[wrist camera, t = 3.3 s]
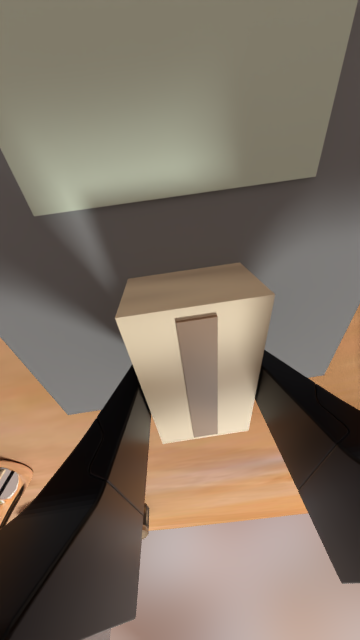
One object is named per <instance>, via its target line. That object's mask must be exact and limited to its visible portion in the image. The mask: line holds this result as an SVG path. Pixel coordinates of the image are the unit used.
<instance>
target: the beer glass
mask: <svg viewBox="0 0 360 640" xmlns="http://www.w3.org/2000/svg"><path fill="white" fill-rule="evenodd" d="M32 477H33V472H32V470H31V469H30V468H29V467H27V466H25V465H23V464H20V463H17V462H13V461H8V460H2V459H0V529H1V528H3V527H4V526H5V525H6V524H7V522H8V520H9V518H10V516H11V514H12V512H13V510H14V508H15V506H16V505H17V503H18V501H19V500H20V498H21V496H22V495H23V493H24V491H25V490H26V488H27V486H28V485H29V483H30V481H31V479H32Z"/></svg>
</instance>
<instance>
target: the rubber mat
mask: <svg viewBox="0 0 360 640" xmlns="http://www.w3.org/2000/svg"><path fill="white" fill-rule="evenodd" d="M239 262H240V263H241V264H242V265H243V266H244V267H245V268H247V269H248V270H249V271H250V272H251V273H252V274H253V275H254V276H255V277H257V278H258V279H259V280H260V281H261V282H262V283H263V284H264V285H265V286H266V287H268V288H269V289H270V290H271V291H272V292H273V293H274V294H275V298H274V303H273V308H272V313H271V318H270V323H269V328H268V333H267V339H266V344H265V350H266V351H268V352H269V353H271V354H272V355H274V356H275V357H277V358H278V359H280V360H281V361H283V362H284V363H286V364H287V365H289V366H290V367H292V368H293V369H295V370H296V371H298V372H299V373H301V374H302V375H304V376H305V377H307V378H309V377H315V376H322V375H324V374H325V372H326V370H327V368H328V366H329V364H330V362H331V360H332V358H333V356H334V354H335V352H336V350H337V348H338V346H339V344H340V342H341V340H342V338H343V336H344V334H345V332H346V330H347V328H348V326H349V324H350V322H351V320H352V318H353V316H354V314H355V312H356V310H357V308H358V306H359V304H360V0H0V337H1V338H2V340H3V341H4V342H5V343H6V344H7V345H8V346H9V348H10V349H11V350H12V351H13V352H14V353H15V355H16V356H17V357H18V358H19V359H20V360H21V361H22V363H23V364H24V365H25V366H26V367H27V368H28V369H29V371H30V372H31V373H32V374H33V375H34V376H35V377H36V379H37V380H38V381H39V382H40V383H41V384H42V386H43V387H44V388H45V389H46V390H47V391H48V392H49V394H50V395H51V396H52V397H53V398H54V399H55V400H56V402H57V403H58V404H59V405H60V406H61V407H62V409H63V410H64V411H65V412H66V413H67V414H68V415H71V414H77V413H84V412H90V411H97V410H102V409H103V407H104V406H105V404H106V403H107V401H108V400H109V398H110V397H111V395H112V394H113V392H114V391H115V389H116V388H117V386H118V385H119V383H120V382H121V380H122V379H123V377H124V376H125V374H126V373H127V371H128V370H129V368H130V367H131V365H132V362H131V359H130V356H129V354H128V351H127V349H126V346H125V343H124V341H123V338H122V336H121V333H120V330H119V328H118V325H117V322H116V320H115V316H116V313H117V310H118V307H119V304H120V301H121V298H122V295H123V292H124V289H125V286H126V283H127V280H128V279H130V278H136V277H143V276H150V275H157V274H164V273H171V272H177V271H184V270H191V269H198V268H205V267H212V266H218V265H225V264H232V263H239Z"/></svg>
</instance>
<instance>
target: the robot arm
mask: <svg viewBox="0 0 360 640" xmlns="http://www.w3.org/2000/svg"><path fill="white" fill-rule="evenodd" d="M255 400H256V402H257V404H258V406H259V408H260V411H261V413H262V415H263V417H264V419H265V421H266V423H267V426H268V428H269V430H270V432H271V434H272V436H273V438H274V440H275V443H276V445H277V447H278V449H279V451H280V453H281V455H282V457H283V460H284V462H285V464H286V466H287V468H288V470H289V472H290V474H291V477H292V479H293V481H294V483H295V485H296V487H297V489H298V490H299V491H298V492H299V494H300V496H301V498H302V500H303V502H304V505H305V507H306V509H307V511H308V513H309V515H310V517H311V519H312V521H313V524H314V526H315V528H316V530H317V532H318V534H319V536H320V539H321V540H322V543H323V545H324V547H325V549H326V551H327V554H328V556H329V558H330V560H331V562H332V564H333V566H334V568H335V571H336V573H337V575H338V576H339V579H340V581H341V582H342V583H343V584H347V583H360V410H358V409H356V408H354V407H353V406H351V405H349V404H348V403H346V402H344V401H342V400H341V399H339V398H338V397H336V396H334V395H333V394H331V393H330V392H328V391H327V390H325V389H324V388H322V387H321V386H319V385H318V384H315V383H314V382H313V381H311V380H310V379H308V378H307V377H305V376H304V375H302V374H301V373H299V372H298V371H296V370H295V369H293V368H292V367H290V366H289V365H287V364H286V363H284V362H283V361H281V360H280V359H278V358H277V357H275V356H274V355H272V354H271V353H269V352H268V351H266V350H265V349H264V354H263V359H262V364H261V369H260V374H259V379H258V384H257V389H256V394H255ZM150 423H151V411H150V409H149V406H148V404H147V401H146V398H145V396H144V393H143V390H142V388H141V385H140V383H139V380H138V377H137V375H136V372H135V370H134V367H133V364H132V365H131V367H130V368H129V370H128V371H127V373H126V374H125V376H124V377H123V379H122V380H121V382H120V383H119V385H118V386H117V388H116V389H115V391H114V392H113V394H112V395H111V397H110V398H109V400H108V401H107V403H106V404H105V406H104V407H103V409H102V410H101V412H100V413H99V415H98V416H97V419H95V421H94V422H93V424H92V425H91V427H90V428H89V430H88V431H87V432H86V434H85V435H84V437H83V438H82V440H81V441H80V442H79V444H78V445H77V446H76V447H75V449H74V450H73V451H72V453H71V454H70V455H69V457H68V458H67V459H66V460H65V462H64V463H63V464H62V465H61V467H60V468H59V469H58V470H57V472H56V473H55V474H54V476H53V477H52V478H51V479H50V481H49V482H48V483H47V484H46V486H45V487H44V488H43V489H42V491H41V492H40V493H39V494H38V496H37V497H36V498H35V499H34V500H33V501H32V502H31V503H30V504H29V505H28V506H27V507H26V508H25V509H24V510H23V511H22V512H21V513H20V514H19V515H18V516H17V517H16V518H14V519H13V520H12V521H10V522H9V523H8V524H7V525H5V526H4V527H3V528H1V529H0V640H110V631H111V628H113V627H116V626H118V625H121V624H123V623H126V622H128V621H131V620H134V619H135V617H136V606H137V593H138V580H139V567H140V554H141V541H142V528H143V514H144V501H145V488H146V475H147V462H148V449H149V436H150Z"/></svg>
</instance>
